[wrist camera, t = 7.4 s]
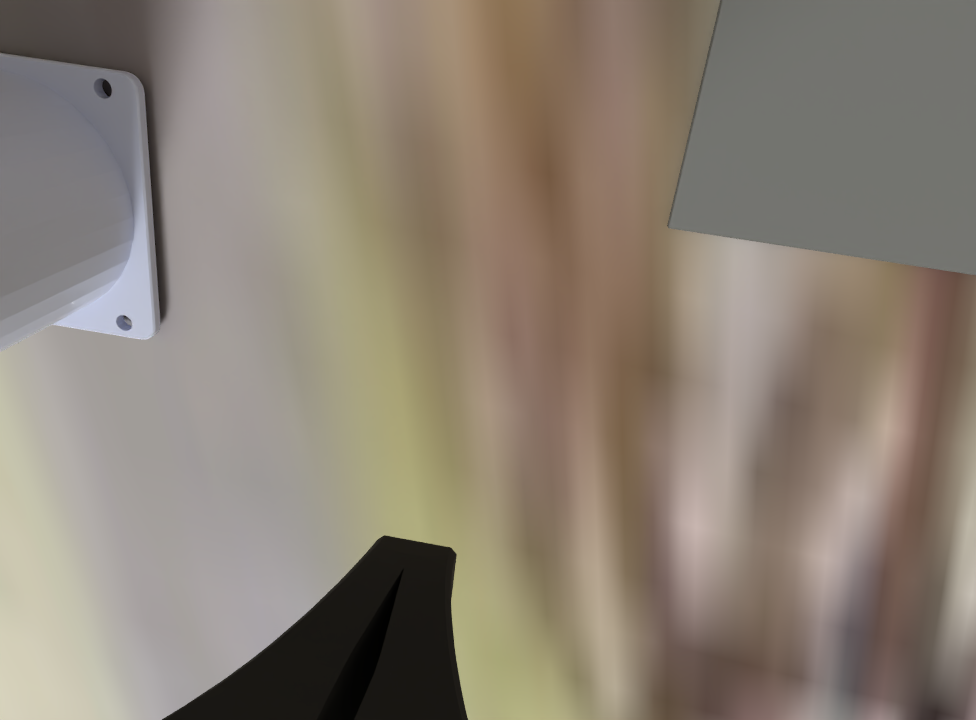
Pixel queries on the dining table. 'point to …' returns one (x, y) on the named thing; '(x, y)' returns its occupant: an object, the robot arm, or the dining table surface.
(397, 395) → the dining table surface
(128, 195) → the robot arm
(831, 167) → the mat
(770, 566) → the dining table surface
